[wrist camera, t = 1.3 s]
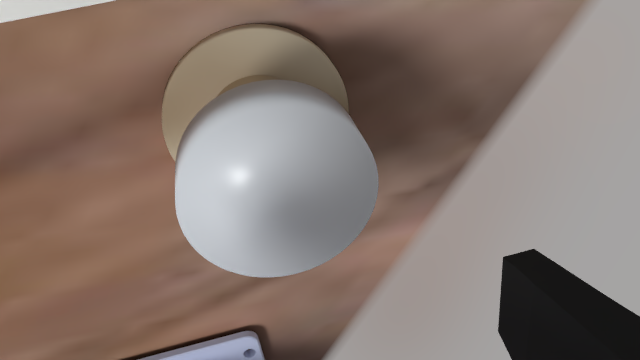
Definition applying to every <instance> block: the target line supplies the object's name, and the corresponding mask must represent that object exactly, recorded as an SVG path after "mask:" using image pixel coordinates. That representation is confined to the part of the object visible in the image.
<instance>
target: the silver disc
mask: <svg viewBox="0 0 640 360" xmlns="http://www.w3.org/2000/svg"><path fill="white" fill-rule="evenodd" d="M377 194H378V172H377V166H376V162H375V160H374V157H373V154H372V152H371V150H370V148H369V146H368V145H367V143H366V141H365V140H364V138H363V136H362V135H361V133H360V131H359V130H358V128H357V127H356V125H355V123H354V122H353V120H352V118H351V117H350V115H349V114H348V113H347V111H346V110H345V109H344V108H343V107H342V106H341V105H340V104H339V103H338V102H337V101H336V100H335V99H334V98H332V97H331V96H329V95H328V94H327V93H325V92H323V91H321V90H319V89H317V88H315V87H312V86H310V85H307V84H304V83H300V82H296V81H290V80H262V81H255V82H251V83H247V84H244V85H240V86H238V87H235V88H233V89H230V90H228V91H226V92H224V93H223V94H221V95H219V96H217V97H216V98H214V99H213V100H212V101H210V102H209V103H208V104H206V105H205V106H204V107H203V108H202V109H201V110H200V111H199V112H198V113H197V114H196V115H195V117H194V118H193V119H192V121H191V122H190V123H189V124H188V126H187V128H186V130H185V132H184V133H183V135H182V138H181V140H180V143H179V145H178V150H177V154H176V162H175V205H176V214H177V218H178V221H179V225H180V227H181V229H182V231H183V233H184V235H185V237H186V238H187V240H188V241H189V243H190V244H191V245H192V246H193V247H194V249H195V250H196V251H197V252H198V253H199V254H201V255H202V256H203V257H204V258H205V259H207V260H208V261H210V262H212V263H213V264H215V265H216V266H219V267H221V268H223V269H225V270H228V271H231V272H234V273H237V274H241V275H246V276H253V277H280V276H287V275H292V274H297V273H300V272H303V271H307V270H309V269H312V268H314V267H317V266H319V265H321V264H323V263H325V262H326V261H328V260H330V259H332V258H333V257H335V256H336V255H338V254H339V253H340V252H342V251H343V250H344V249H345V248H346V247H348V246H349V245H350V244H351V243H352V242H353V241H354V240H355V239H356V237H357V236H358V235H359V234H360V232H361V231H362V230H363V228H364V227H365V225H366V224H367V222H368V220H369V218H370V216H371V214H372V212H373V209H374V206H375V203H376V199H377Z"/></svg>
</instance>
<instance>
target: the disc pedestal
mask: <svg viewBox="0 0 640 360" xmlns="http://www.w3.org/2000/svg"><path fill="white" fill-rule="evenodd" d="M262 80H290V81H296V82H300V83H304V84H307V85H310V86H312V87H315V88H317V89H319V90H321V91H323V92H325V93H327V94H328V95H329V96H331V97H332V98H334V99H335V100H336V101H337V102H338V103H339V104H340V105H341V106H342V107H343V108H344V109H345V110H346V111H347V113H348V114H349V107H348V98H347V93H346V89H345V86H344V83H343V81H342V79H341V77H340V75H339V73H338V71H337V69H336V68H335V66H334V65H333V64H332V62H331V61H330V59H329V58H328V57H327V55H326V54H325V53H324V52H323V51H322V50H321V49H320V48H319V47H318V46H317V45H316V44H314V43H313V42H312V41H311V40H309V39H308V38H306V37H304V36H302V35H301V34H299V33H297V32H294V31H292V30H289V29H287V28H283V27H279V26H275V25H268V24H245V25H238V26H234V27H230V28H226V29H223V30H221V31H218V32H216V33H214V34H211V35H210V36H208V37H206V38H205V39H203V40H201V41H200V42H199V43H197V44H196V45H195V46H193V47H192V48H191V49H190V50H189V51H188V52H187V53H186V54H185V55H184V56H183V57H182V58H181V60H180V61H179V62H178V64H177V65H176V66H175V68H174V70H173V72H172V73H171V75H170V77H169V79H168V82H167V85H166V88H165V91H164V96H163V103H162V129H163V135H164V139H165V142H166V145H167V147H168V150H169V152H170V154H171V156H172V157H173V159H174V161H175V162H176V154H177V150H178V145H179V143H180V140H181V138H182V135H183V133H184V132H185V130H186V128H187V126H188V124H189V123H190V122H191V121H192V119H193V118H194V117H195V115H196V114H197V113H198V112H199V111H200V110H201V109H202V108H203V107H204V106H205V105H206V104H208V103H209V102H210V101H212V100H213V99H214V98H216V97H217V96H219V95H221V94H223V93H224V92H226V91H228V90H230V89H233V88H235V87H238V86H240V85H244V84H247V83H251V82H255V81H262Z"/></svg>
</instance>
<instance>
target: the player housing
mask: <svg viewBox="0 0 640 360" xmlns="http://www.w3.org/2000/svg"><path fill="white" fill-rule="evenodd" d="M110 1H115V0H0V23H2V22H7V21H13V20H18V19H23V18H28V17H33V16H38V15H43V14H48V13H53V12H58V11H64V10H69V9H74V8H79V7H84V6H89V5H94V4H99V3H104V2H110Z"/></svg>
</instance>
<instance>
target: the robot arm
mask: <svg viewBox="0 0 640 360" xmlns="http://www.w3.org/2000/svg"><path fill="white" fill-rule="evenodd" d="M498 332H499V334H500V336H501V338H502V340H503V342H504V344H505V346H506V348H507V350H508V352H509V354H510V357H511V359H512V360H640V316H638V315H636V314H635V313H633V312H631V311H630V310H628V309H626V308H625V307H623V306H622V305H620V304H618V303H617V302H615V301H614V300H612V299H611V298H609V297H607V296H606V295H604V294H603V293H601V292H600V291H598V290H596V289H595V288H593V287H592V286H590V285H589V284H587V283H586V282H584V281H583V280H581V279H579V278H578V277H576V276H575V275H573V274H572V273H570V272H569V271H567V270H566V269H564V268H563V267H561V266H560V265H558V264H557V263H555V262H554V261H552V260H550V259H549V258H547V257H546V256H544V255H542V254H541V253H540V252H538V251H536V250H535V249H532V250H528V251H524V252H520V253H517V254H513V255H509V256H505V257H503V268H502V282H501V297H500V312H499V327H498ZM248 349H251V350H248ZM138 360H265V358H264V355H263V352H262V348H261V345H260V342H259V338H258V336H257V334H256V333H255V332H253V331H243V332H239V333H235V334H232V335H228V336H224V337H220V338H217V339H213V340H209V341H205V342H202V343H198V344H194V345H190V346H186V347H183V348H179V349H175V350H171V351H168V352H164V353H160V354H156V355H153V356H149V357H145V358H141V359H138Z"/></svg>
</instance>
